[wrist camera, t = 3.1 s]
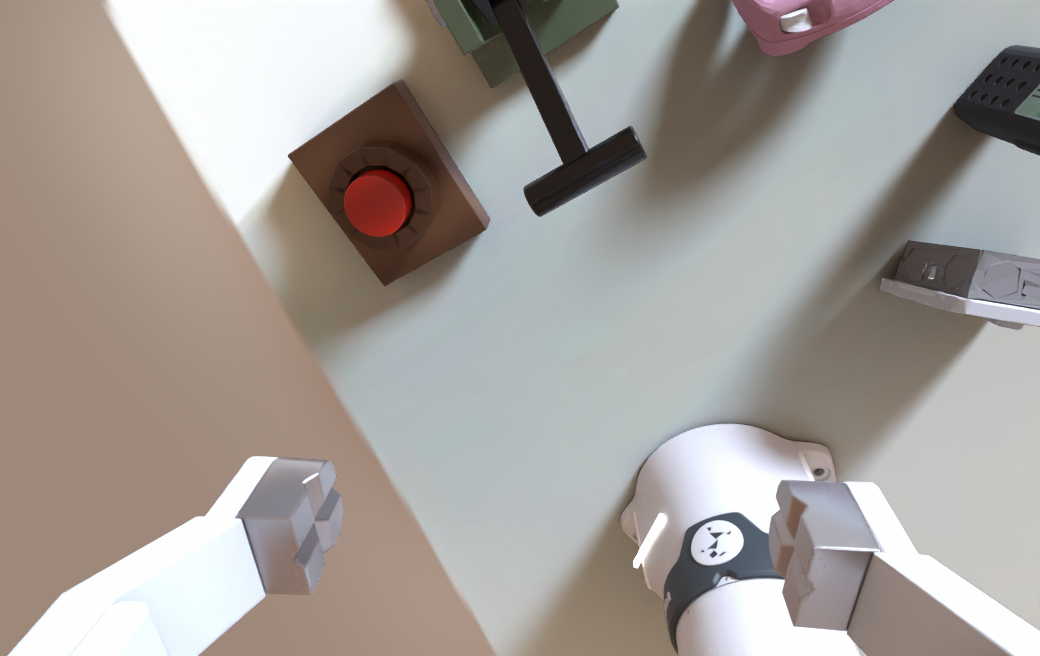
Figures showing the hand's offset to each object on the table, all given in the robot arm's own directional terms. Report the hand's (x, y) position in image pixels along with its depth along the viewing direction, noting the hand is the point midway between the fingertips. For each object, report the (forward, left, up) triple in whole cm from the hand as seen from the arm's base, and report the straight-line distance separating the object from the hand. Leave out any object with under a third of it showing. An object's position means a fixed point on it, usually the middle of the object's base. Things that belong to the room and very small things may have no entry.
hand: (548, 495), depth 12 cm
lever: (+5, -1, -21) cm, 22 cm away
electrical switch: (-21, -18, -35) cm, 44 cm away
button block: (+3, +13, -34) cm, 37 cm away
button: (+3, +13, -31) cm, 33 cm away
